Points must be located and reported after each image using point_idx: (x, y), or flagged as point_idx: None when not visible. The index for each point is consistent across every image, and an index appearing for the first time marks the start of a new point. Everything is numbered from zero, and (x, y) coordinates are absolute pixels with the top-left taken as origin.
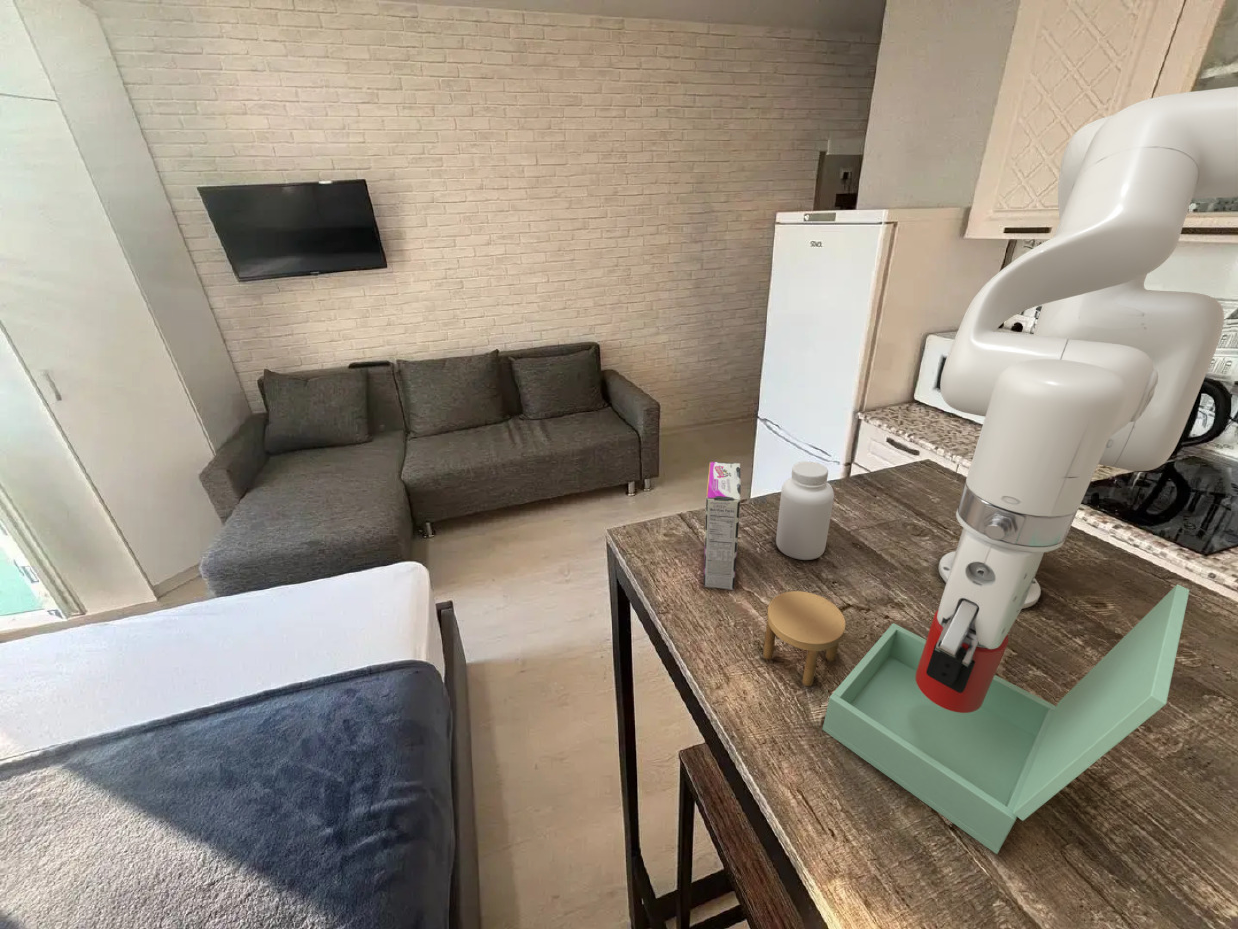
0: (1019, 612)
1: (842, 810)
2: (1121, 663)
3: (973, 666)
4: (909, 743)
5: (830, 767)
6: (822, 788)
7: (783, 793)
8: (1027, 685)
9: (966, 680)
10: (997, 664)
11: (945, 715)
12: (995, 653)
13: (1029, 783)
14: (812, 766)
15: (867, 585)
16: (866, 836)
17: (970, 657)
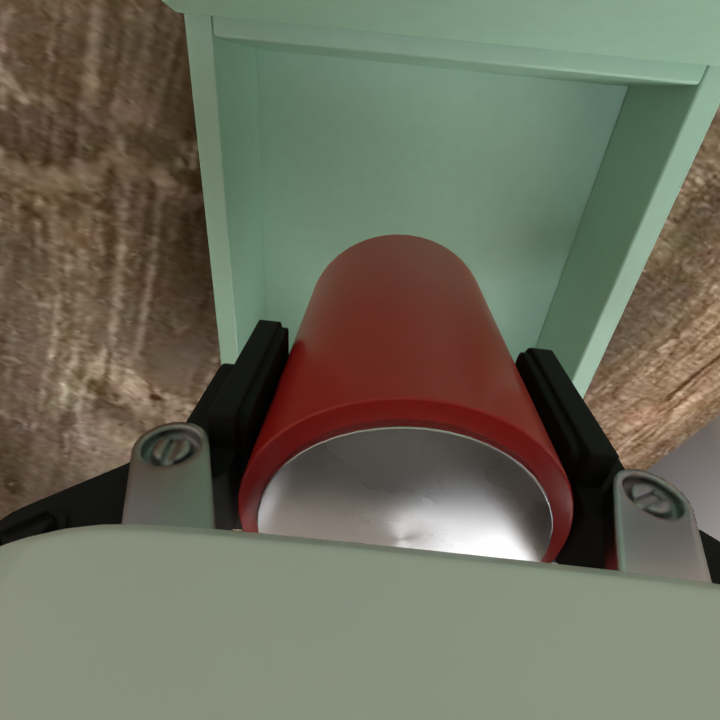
0: (248, 553)
1: (676, 336)
2: None
3: (580, 431)
4: (596, 332)
5: (594, 374)
6: (646, 372)
7: (684, 413)
8: (78, 97)
9: (573, 388)
10: (447, 334)
11: (347, 247)
12: (520, 421)
13: (674, 45)
14: (608, 396)
15: (102, 444)
16: (714, 290)
17: (700, 538)
